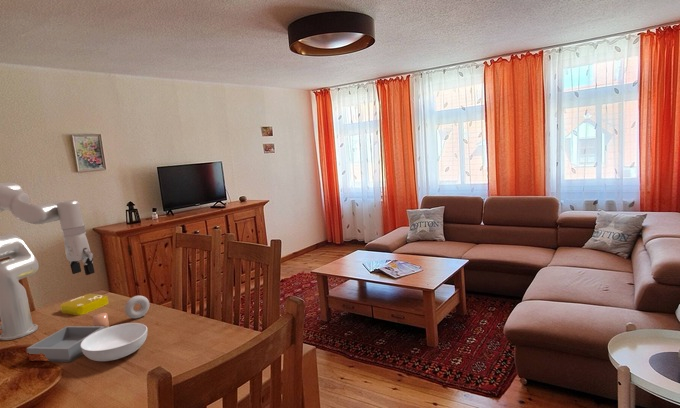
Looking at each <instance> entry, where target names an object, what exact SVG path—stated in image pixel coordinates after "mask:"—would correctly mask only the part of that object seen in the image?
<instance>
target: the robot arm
mask: <svg viewBox="0 0 680 408" xmlns="http://www.w3.org/2000/svg"><path fill="white" fill-rule="evenodd" d="M30 201H31V198H30V196H29V194H28V193H26V192H24V190H23V187H22V186H21V185H20V184H18V183H15V182H13V181H10V182H8V181H6V182H0V213H2V212H4V211H5V210H6V211H9V212H11V214H12V215H13V216H14V217H15V218H16V220H19V221H22V222H25V223H27V224H28V223H29V224H33V225H43V224H49V223H52V222H57V221H59V224H60V229H61V232H62V236H63V243H64V244H63V246H64V251H65V257H66V260H67V261H69V266H70V270H71V273H72V275H74V274H79V273H81V272H82V269H81V264H80V263H81V262H80V261H82V263H83V269H84V273H85V276H89V275H92V274H95V268H94V261H93V260H94V258H93V256H94V253H92V252H91V249H90V244H89V240H88V238H87V235H86V234H87V231H86V226H85V222H84V217H83V213H82V208H81V204H80V202H79V201H78V200H74V199H73V200H66V201H65V200H63V201H51V202H45V203H38V204H32V203H30ZM7 258H8V259H7ZM2 259H3V260H2ZM0 260H1V261H0V322H1V323H0V331H1V333H0V340H1V341H10V340H11V341H12V340H15V339H20V338H23V337H26V336H28V335H31V334H33V333H35V332H36V331H38V329H39V326H38V324H36V323H33V320H32V314H31V310H30V303H29V298H28V294H27V290H26V288H25V287H24V285H22V283H20V282H19V281H20V280H22V279H25V278H27V277H30V276H33V275H34V274H36V273H37V272H38V271H39V268H40V267H39V265H40V264H39V261H38V259H37V257H36V256H35V255H34V253H33V251H32V250H31V249H30V248H29V246H28V245H27V243H26V242H25V241H24V240H23V238H22V237H20V236H18V235H17V234H14V233H7V234H2V235H0Z"/></svg>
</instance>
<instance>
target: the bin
mask: <svg viewBox="0 0 680 408" xmlns="http://www.w3.org/2000/svg"><path fill="white" fill-rule="evenodd" d="M102 329H105V326H94V325H92V326H91V325H90V326H89V325H88V326H87V325H86V326H83V325H79V326H78V325H76V326H73V325H71V326H70V325H68V326H67V325H66V326H65V327H62V328H61V329H59V330H58V331H55V332H54V333H52V334H50V335H49V336H46V337H45V338H42V339H41V340H39V341H37V342H35V343H33V344H32V345H30V346H28V347H26V353H29V354H40V353H42V354H44V355H45V357H46V358H47V359H48V360H49V361H51V362H50V363H72V362H73V361H75V360H76V359H78V358H79V357H80V356H83V355H84V354H83V352H82V350H81V347H80V344H81V342H82V341H83V340H84V339H85V338H86V337H88V336H89V335H91V334H93V333H95V332H97V331H99V330H102Z"/></svg>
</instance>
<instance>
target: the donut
mask: <svg viewBox="0 0 680 408" xmlns="http://www.w3.org/2000/svg"><path fill="white" fill-rule="evenodd" d="M136 304H140V308H139V309H137V310H135V309H134V307H135V306H136ZM149 308H150V300H149V299H148V298H147V297H146V296H143V295H134V296H132V297H131V298H129V299H128V300H127V302H125V305H124V313H125V315H126V316H127V317H128V318H131V319H135V320H136V319H140V318H142V317H144V316H145V315H146V314H147V312H149Z"/></svg>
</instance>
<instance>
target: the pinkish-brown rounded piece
mask: <svg viewBox="0 0 680 408" xmlns="http://www.w3.org/2000/svg"><path fill="white" fill-rule="evenodd" d="M91 319H92V324H93V326H105V328H108V327H110V322H109V316H108V313H107V312H101V313H97V314H95V315H93V316H92V317H91Z"/></svg>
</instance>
